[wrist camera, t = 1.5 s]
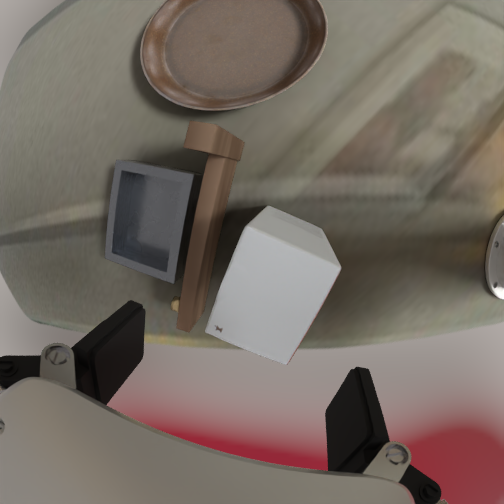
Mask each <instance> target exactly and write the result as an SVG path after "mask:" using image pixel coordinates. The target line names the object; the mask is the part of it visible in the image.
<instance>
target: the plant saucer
mask: <svg viewBox="0 0 504 504" xmlns="http://www.w3.org/2000/svg"><path fill="white" fill-rule="evenodd" d="M327 35H328V22H327V17H326V13H325V11H324V8H323V6H322V4H321V3H320V1H319V0H165V1H164V2H163V3H162V4H161V6H160V7H159V8H158V9H157V10H156V12H155V13H154V14H153V16H152V17H151V19H150V21H149V23H148V25H147V27H146V29H145V31H144V34H143V37H142V41H141V48H140V59H141V65H142V69H143V72H144V75H145V77H146V78H147V80H148V82H149V83H150V85H151V86H152V87H153V88H154V89H155V90H156V91H157V92H158V93H159V94H160V95H162V96H163V97H164V98H166V99H168V100H169V101H171V102H173V103H176V104H178V105H181V106H184V107H188V108H192V109H199V110H211V111H216V110H230V109H237V108H242V107H246V106H250V105H254V104H257V103H260V102H262V101H265V100H267V99H270V98H272V97H274V96H276V95H278V94H280V93H282V92H284V91H285V90H287V89H288V88H290V87H292V86H293V85H294V84H296V83H297V82H298V81H299V80H301V79H302V78H303V77H304V76H305V75H306V74H307V73H308V72H309V71H310V70H311V69H312V68H313V66H314V65H315V64H316V62H317V61H318V59H319V57H320V56H321V54H322V52H323V50H324V47H325V44H326V41H327Z"/></svg>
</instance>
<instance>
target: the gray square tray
mask: <svg viewBox="0 0 504 504" xmlns="http://www.w3.org/2000/svg"><path fill="white" fill-rule="evenodd" d="M203 176H204V174H200V173H195V172H191V171H186V170H181V169H176V168H171V167H166V166H161V165H156V164H151V163H145V162H139V161H134V160H116V165H115V170H114V176H113V183H112V189H111V196H110V204H109V213H108V222H107V234H106V247H105V259H108V260H111V261H113V262H116V263H118V264H121V265H123V266H126V267H129V268H131V269H134V270H137V271H139V272H142V273H145V274H147V275H150V276H153V277H156V278H158V279H161V280H164V281H167V282H170V283H172V284H174V283H176V282H177V281H178V280H179V279H180V278H181V277H182V276H184V273H185V267H186V261H187V255H188V250H189V244H190V239H191V233H192V228H193V223H194V218H195V213H196V208H197V203H198V199H199V194H200V189H201V185H202V180H203Z"/></svg>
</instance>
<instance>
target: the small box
mask: <svg viewBox="0 0 504 504" xmlns="http://www.w3.org/2000/svg"><path fill="white" fill-rule="evenodd" d="M341 269H342V268H341V266H340V264H339V262H338V260H337V257H336V255H335V253H334V252H333V249H332V247H331V245H330V244H329V241H328V239H327V237H326V236H325V234H324V232H323V230H322V228H319V227H317V226H315V225H313V224H310V223H308V222H306V221H304V220H301V219H299V218H297V217H295V216H292V215H290V214H288V213H285V212H283V211H281V210H278V209H276V208H273V207H271V206H266V207H265V208H264V209H263V210H262V211H261V212H260V213H259V214H258V215H257V216H256V217H255V218H254V219H253V220H252V221H250V222H249V223H248V224H247V225H246V226H245V228H244V230H243V232H242V234H241V237H240V239H239V242H238V244H237V246H236V249H235V251H234V254H233V256H232V259H231V261H230V264H229V266H228V269H227V271H226V274H225V276H224V278H223V281H222V283H221V286H220V288H219V291H218V293H217V297H216V301H215V304H214V307H213V309H212V312H211V315H210V318H209V320H208V323H207V326H206V329H205V332H206V333H208V334H210V335H213V336H215V337H217V338H219V339H221V340H223V341H226V342H228V343H230V344H233V345H235V346H237V347H240V348H242V349H245V350H247V351H250V352H252V353H255V354H258V355H260V356H263V357H265V358H268V359H271V360H273V361H276V362H279V363H282V364H285V365H287V364H288V363H289V362H290V360H291V358H292V357H293V355H294V354H295V352H296V350H297V349H298V347H299V345H300V344H301V342H302V340H303V339H304V337H305V335H306V334H307V332H308V330H309V328H310V327H311V325H312V323H313V321H314V320H315V318H316V316H317V314H318V313H319V311H320V309H321V307H322V305H323V303H324V302H325V300H326V298H327V296H328V294H329V292H330V290H331V288H332V287H333V285H334V283H335V281H336V279H337V277H338V275H339V273H340V271H341Z"/></svg>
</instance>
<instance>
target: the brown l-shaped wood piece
mask: <svg viewBox="0 0 504 504" xmlns="http://www.w3.org/2000/svg"><path fill="white" fill-rule="evenodd" d="M244 143H245V142H243V141H242V140H240V139H238V138H237V137H235V136H234V135H232V134H231V133H229V132H227V131H226V130H224V129H223V128H221V127H219V126H218V125H215V124H209V123H203V122H196V121H190V123H189V127H188V131H187V135H186V139H185V143H184V147H183V148H188V149H192V150H196V151H201V152H205V153H209V155H208V159H207V163H206V167H205V172H204V176H203V180H202V185H201V189H200V194H199V199H198V203H197V208H196V213H195V218H194V223H193V228H192V233H191V239H190V244H189V250H188V255H187V261H186V267H185V273H184V279H183V285H182V292H181V298H180V297H177V296H175V297H174V298H173V300H172V303H171V310H174V311H176V312H178V320H177V327H176V328H178V329H180V330H183V331H186V332H190V331H191V329H192V328H193V327H194V325H195V324H196V322H197V321H198V319H199V318H200V317H201V315H202V314H203V312H204V308H205V303H206V298H207V293H208V288H209V283H210V279H211V274H212V269H213V264H214V260H215V255H216V250H217V246H218V241H219V237H220V232H221V228H222V223H223V219H224V215H225V210H226V206H227V202H228V197H229V193H230V189H231V185H232V181H233V177H234V173H235V169H236V165H237V161H238V160H239V161H240V158H241V154H242V150H243V147H244Z"/></svg>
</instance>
